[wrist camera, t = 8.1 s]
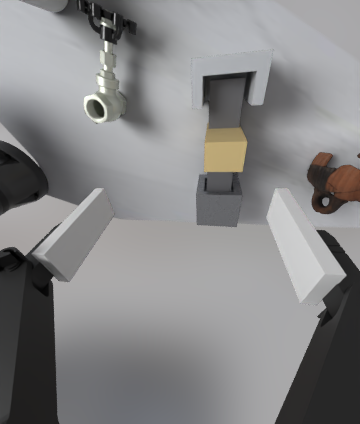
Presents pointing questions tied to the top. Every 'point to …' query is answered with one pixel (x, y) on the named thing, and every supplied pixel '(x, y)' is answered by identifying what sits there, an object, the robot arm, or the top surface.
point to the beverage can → (48, 4)
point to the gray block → (218, 204)
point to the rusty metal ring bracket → (333, 184)
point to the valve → (106, 64)
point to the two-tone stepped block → (224, 134)
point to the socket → (231, 74)
